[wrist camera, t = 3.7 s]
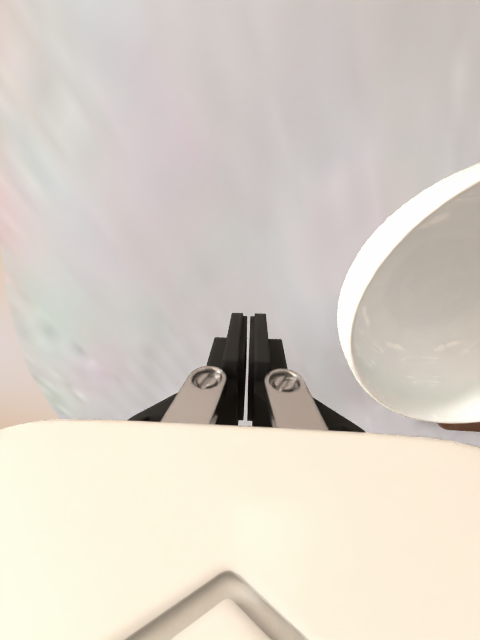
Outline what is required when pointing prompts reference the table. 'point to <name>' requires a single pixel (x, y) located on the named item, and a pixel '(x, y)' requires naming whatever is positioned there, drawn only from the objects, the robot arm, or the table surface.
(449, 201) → the cereal bowl
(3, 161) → the table surface
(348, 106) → the table surface
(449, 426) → the wooden spoon
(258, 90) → the table surface
